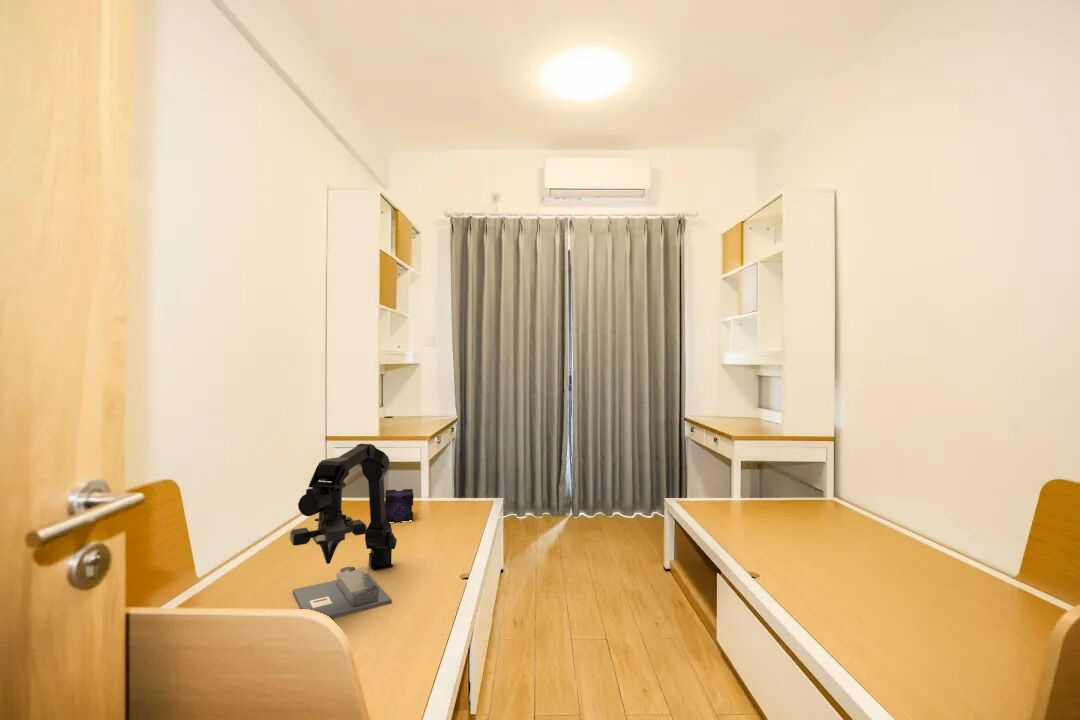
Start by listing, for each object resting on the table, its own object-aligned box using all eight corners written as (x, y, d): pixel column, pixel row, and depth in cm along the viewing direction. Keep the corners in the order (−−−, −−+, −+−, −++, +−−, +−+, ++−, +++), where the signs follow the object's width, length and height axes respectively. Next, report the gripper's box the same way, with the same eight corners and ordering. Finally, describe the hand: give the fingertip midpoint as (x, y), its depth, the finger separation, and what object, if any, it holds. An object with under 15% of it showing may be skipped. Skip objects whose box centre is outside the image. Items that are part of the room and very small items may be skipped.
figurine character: (338, 530, 204) (311, 536, 190) (340, 511, 205) (314, 517, 191) (351, 532, 202) (325, 538, 188) (353, 513, 203) (327, 519, 189)
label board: (368, 576, 155) (368, 572, 155) (391, 602, 137) (391, 599, 137) (292, 592, 142) (292, 589, 142) (307, 624, 124) (308, 620, 124)
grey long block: (333, 579, 149) (334, 569, 149) (356, 574, 153) (357, 564, 153) (352, 606, 132) (353, 595, 132) (378, 600, 136) (378, 589, 136)
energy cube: (384, 516, 221) (385, 490, 221) (411, 514, 224) (412, 488, 225) (384, 524, 209) (385, 496, 210) (412, 522, 213) (413, 495, 213)
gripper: (298, 518, 120) (295, 581, 120) (373, 508, 131) (371, 565, 131) (291, 508, 129) (288, 566, 129) (361, 499, 140) (359, 553, 140)
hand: (327, 563), depth 132 cm, fingers closed
